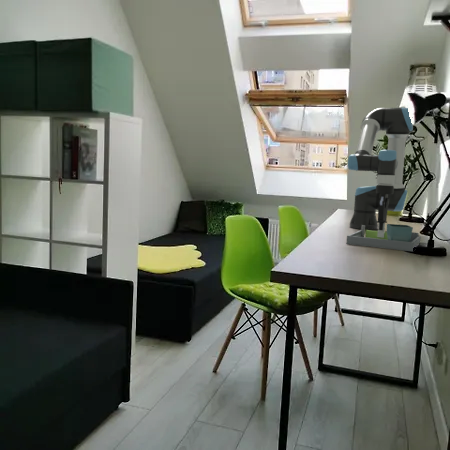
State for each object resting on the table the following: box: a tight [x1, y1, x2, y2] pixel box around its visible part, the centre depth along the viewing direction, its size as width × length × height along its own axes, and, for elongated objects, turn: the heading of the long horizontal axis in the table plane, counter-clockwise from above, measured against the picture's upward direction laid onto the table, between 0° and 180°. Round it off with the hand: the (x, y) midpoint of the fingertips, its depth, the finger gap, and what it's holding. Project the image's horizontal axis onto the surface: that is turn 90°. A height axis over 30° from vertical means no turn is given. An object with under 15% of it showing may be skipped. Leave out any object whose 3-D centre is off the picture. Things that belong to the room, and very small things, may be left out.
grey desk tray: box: [346, 225, 422, 252], centre depth 206 cm, size 24×26×6 cm
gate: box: [364, 229, 388, 240], centre depth 216 cm, size 2×12×5 cm, turn 53°
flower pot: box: [386, 223, 414, 242], centre depth 201 cm, size 9×9×9 cm
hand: (380, 237), depth 215 cm, fingers closed
